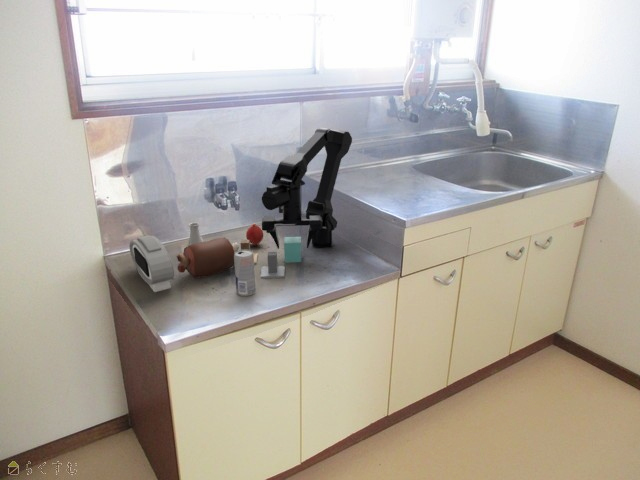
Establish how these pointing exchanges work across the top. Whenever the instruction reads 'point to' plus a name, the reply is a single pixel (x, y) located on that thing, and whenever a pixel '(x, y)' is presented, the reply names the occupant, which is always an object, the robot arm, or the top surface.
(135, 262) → the alarm clock
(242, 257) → the energy drink
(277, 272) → the light grey base plate
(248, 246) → the tan wooden stamp
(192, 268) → the meat
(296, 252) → the turquoise block
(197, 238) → the flask
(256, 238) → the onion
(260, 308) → the top surface
